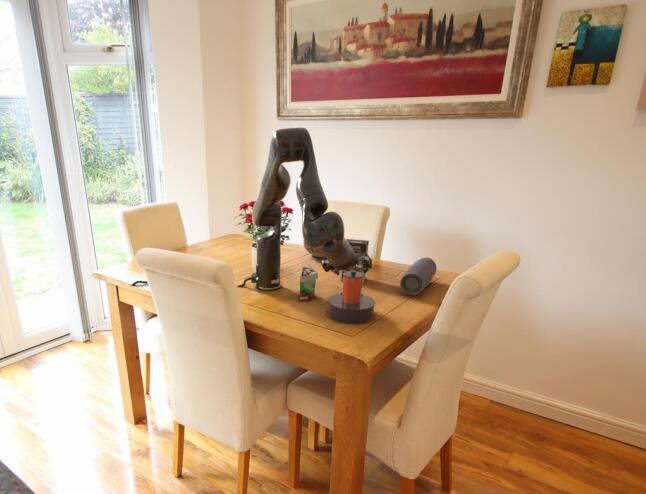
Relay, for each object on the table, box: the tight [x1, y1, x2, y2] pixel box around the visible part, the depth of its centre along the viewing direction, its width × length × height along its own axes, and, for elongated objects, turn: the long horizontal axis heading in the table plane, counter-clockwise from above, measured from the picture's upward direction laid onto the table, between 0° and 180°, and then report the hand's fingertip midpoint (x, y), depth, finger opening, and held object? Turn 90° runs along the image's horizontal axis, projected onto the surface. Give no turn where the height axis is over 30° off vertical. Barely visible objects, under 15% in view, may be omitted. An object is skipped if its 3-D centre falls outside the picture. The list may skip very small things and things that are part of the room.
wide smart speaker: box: [327, 292, 376, 324], centre depth 155 cm, size 15×15×5 cm
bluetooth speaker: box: [399, 257, 438, 296], centre depth 175 cm, size 23×9×10 cm, turn 147°
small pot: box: [341, 271, 364, 304], centre depth 152 cm, size 7×7×10 cm
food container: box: [299, 266, 319, 302], centre depth 170 cm, size 12×6×10 cm, turn 168°
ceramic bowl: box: [303, 240, 327, 262], centre depth 215 cm, size 24×18×15 cm
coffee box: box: [340, 238, 370, 284], centre depth 185 cm, size 9×6×16 cm
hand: (351, 271), depth 145 cm, fingers open, 8 cm apart
